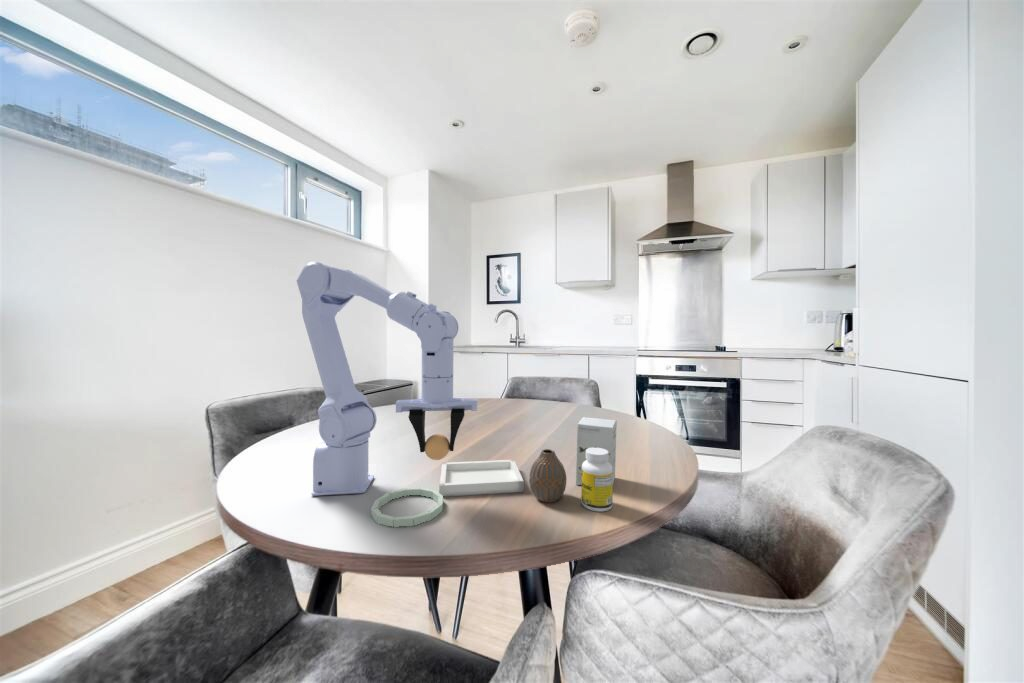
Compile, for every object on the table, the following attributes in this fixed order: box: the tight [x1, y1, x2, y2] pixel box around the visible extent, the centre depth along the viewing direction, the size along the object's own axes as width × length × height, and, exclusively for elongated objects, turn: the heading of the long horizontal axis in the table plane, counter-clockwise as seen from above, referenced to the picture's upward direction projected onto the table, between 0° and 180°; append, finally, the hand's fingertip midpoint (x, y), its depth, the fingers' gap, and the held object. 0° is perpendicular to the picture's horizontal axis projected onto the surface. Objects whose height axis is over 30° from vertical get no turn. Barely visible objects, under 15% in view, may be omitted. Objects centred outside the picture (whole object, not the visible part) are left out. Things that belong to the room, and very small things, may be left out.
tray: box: [438, 459, 525, 497], centre depth 73 cm, size 16×12×2 cm
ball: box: [424, 433, 450, 461], centre depth 65 cm, size 5×5×5 cm
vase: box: [528, 448, 567, 504], centre depth 65 cm, size 7×7×9 cm
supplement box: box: [575, 416, 618, 487], centre depth 73 cm, size 7×7×13 cm
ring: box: [370, 486, 444, 528], centre depth 61 cm, size 12×12×1 cm
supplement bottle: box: [581, 448, 614, 513], centre depth 63 cm, size 5×5×10 cm
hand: (437, 450), depth 65 cm, fingers closed on ball, 5 cm apart
